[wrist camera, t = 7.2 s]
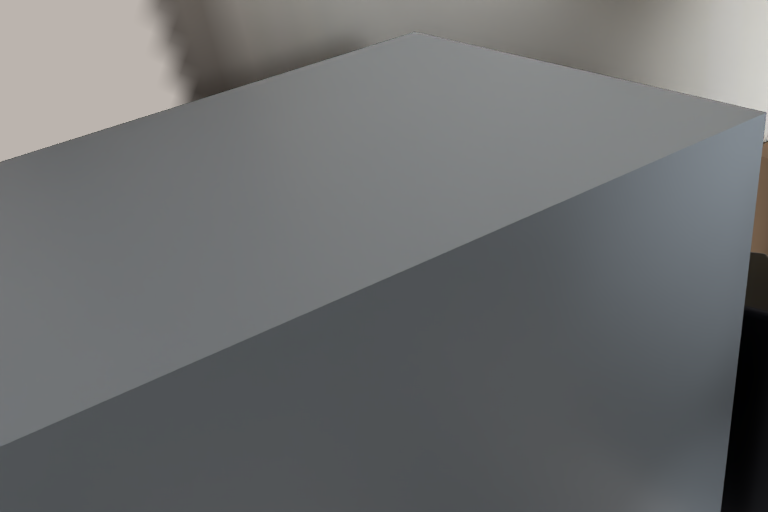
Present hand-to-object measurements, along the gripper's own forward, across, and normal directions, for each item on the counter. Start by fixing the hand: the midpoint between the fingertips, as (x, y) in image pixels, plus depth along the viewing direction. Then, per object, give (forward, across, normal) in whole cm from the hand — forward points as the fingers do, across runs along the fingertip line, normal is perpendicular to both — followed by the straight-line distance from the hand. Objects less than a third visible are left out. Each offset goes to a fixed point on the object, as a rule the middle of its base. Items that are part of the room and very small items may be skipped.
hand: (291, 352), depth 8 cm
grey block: (+1, 0, 0) cm, 1 cm away
